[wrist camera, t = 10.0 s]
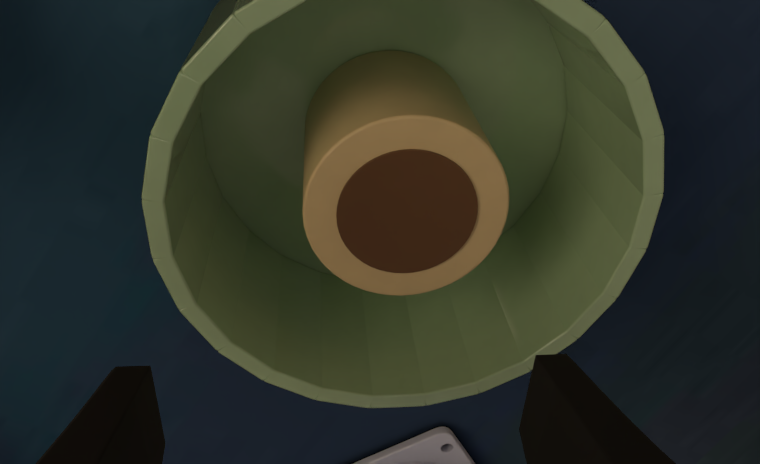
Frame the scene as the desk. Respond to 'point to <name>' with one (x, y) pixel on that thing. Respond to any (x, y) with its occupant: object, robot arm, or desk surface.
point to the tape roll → (399, 177)
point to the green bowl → (285, 193)
